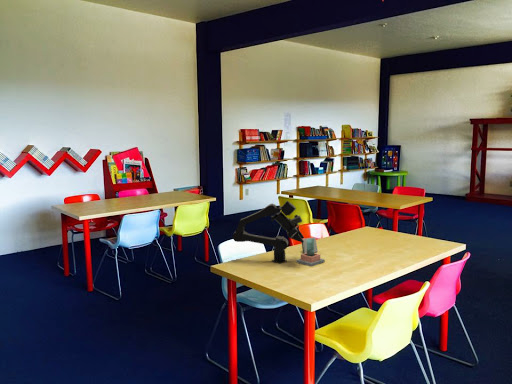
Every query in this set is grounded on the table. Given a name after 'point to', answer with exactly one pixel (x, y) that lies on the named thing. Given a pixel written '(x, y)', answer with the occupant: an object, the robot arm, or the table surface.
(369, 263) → the table surface
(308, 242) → the peg
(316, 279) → the table surface
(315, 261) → the socket plate
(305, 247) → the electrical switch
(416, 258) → the table surface
